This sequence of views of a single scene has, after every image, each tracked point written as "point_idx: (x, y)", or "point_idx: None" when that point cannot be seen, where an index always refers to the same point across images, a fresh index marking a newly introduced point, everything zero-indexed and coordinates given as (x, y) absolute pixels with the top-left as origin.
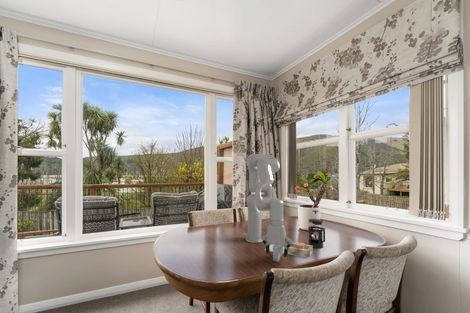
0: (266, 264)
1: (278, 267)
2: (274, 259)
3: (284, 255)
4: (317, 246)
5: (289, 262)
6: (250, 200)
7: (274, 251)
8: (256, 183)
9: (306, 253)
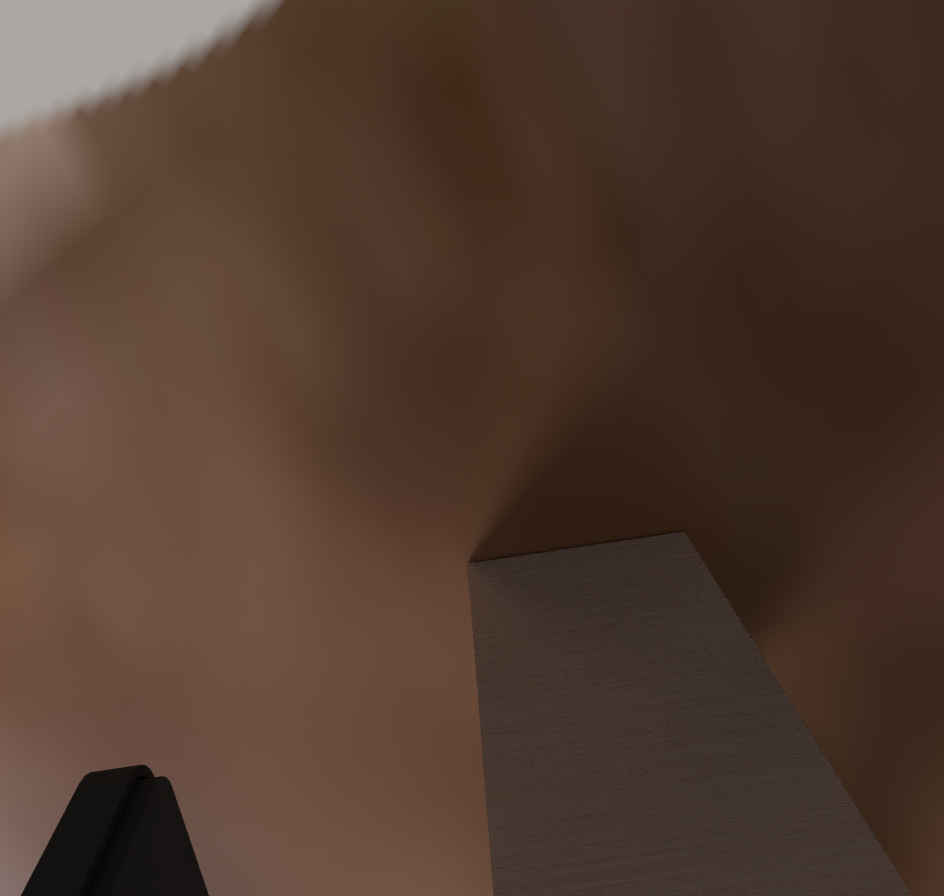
0: (795, 57)
1: (209, 81)
2: (635, 579)
3: (105, 810)
4: None
5: None
6: None
7: (755, 838)
8: None
9: None
